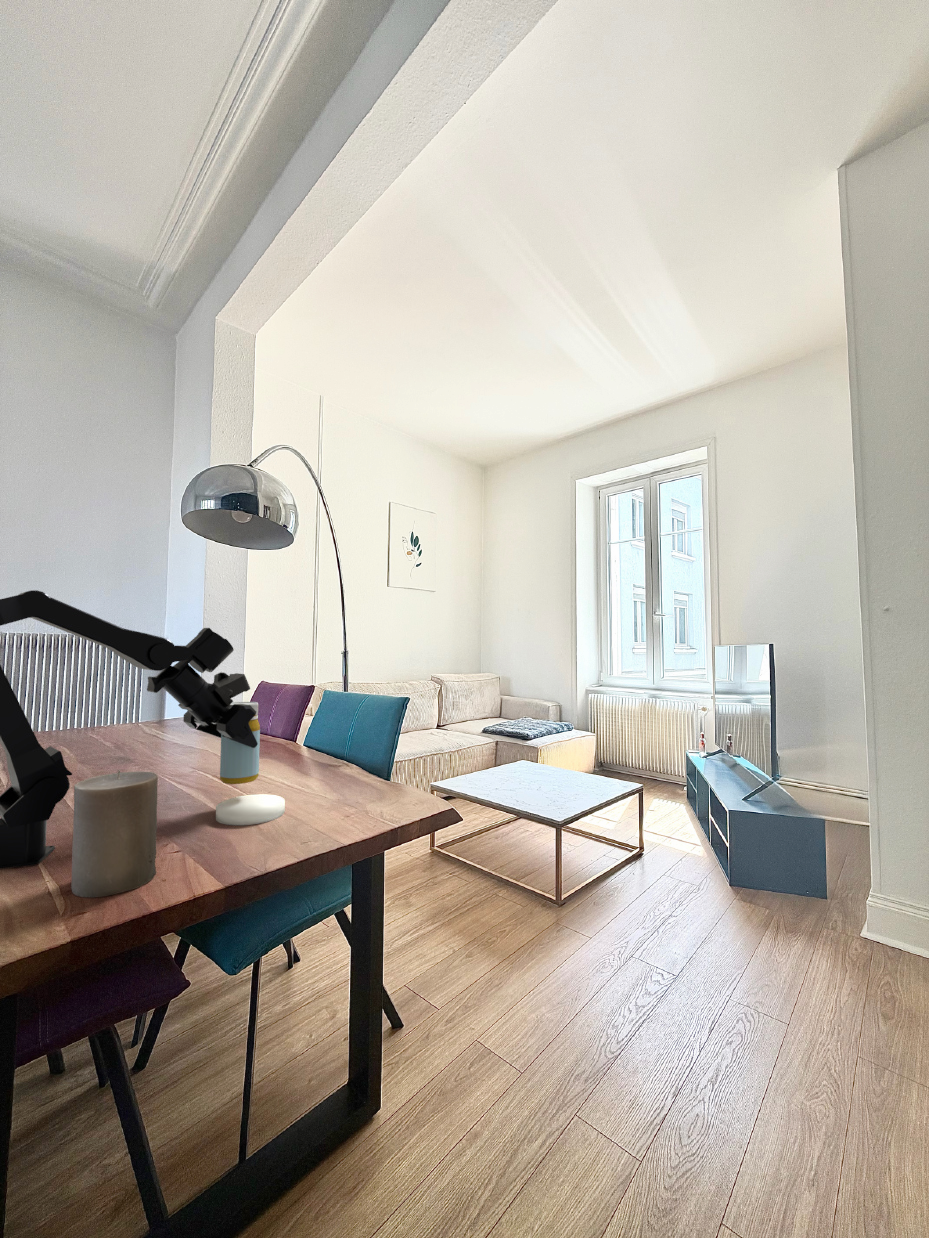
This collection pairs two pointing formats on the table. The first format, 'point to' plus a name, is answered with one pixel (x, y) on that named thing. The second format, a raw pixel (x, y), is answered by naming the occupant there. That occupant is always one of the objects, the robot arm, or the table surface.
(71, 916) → the table surface
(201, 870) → the table surface
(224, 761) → the bottle
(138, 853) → the pillar candle
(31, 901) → the table surface
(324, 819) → the table surface
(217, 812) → the round base
